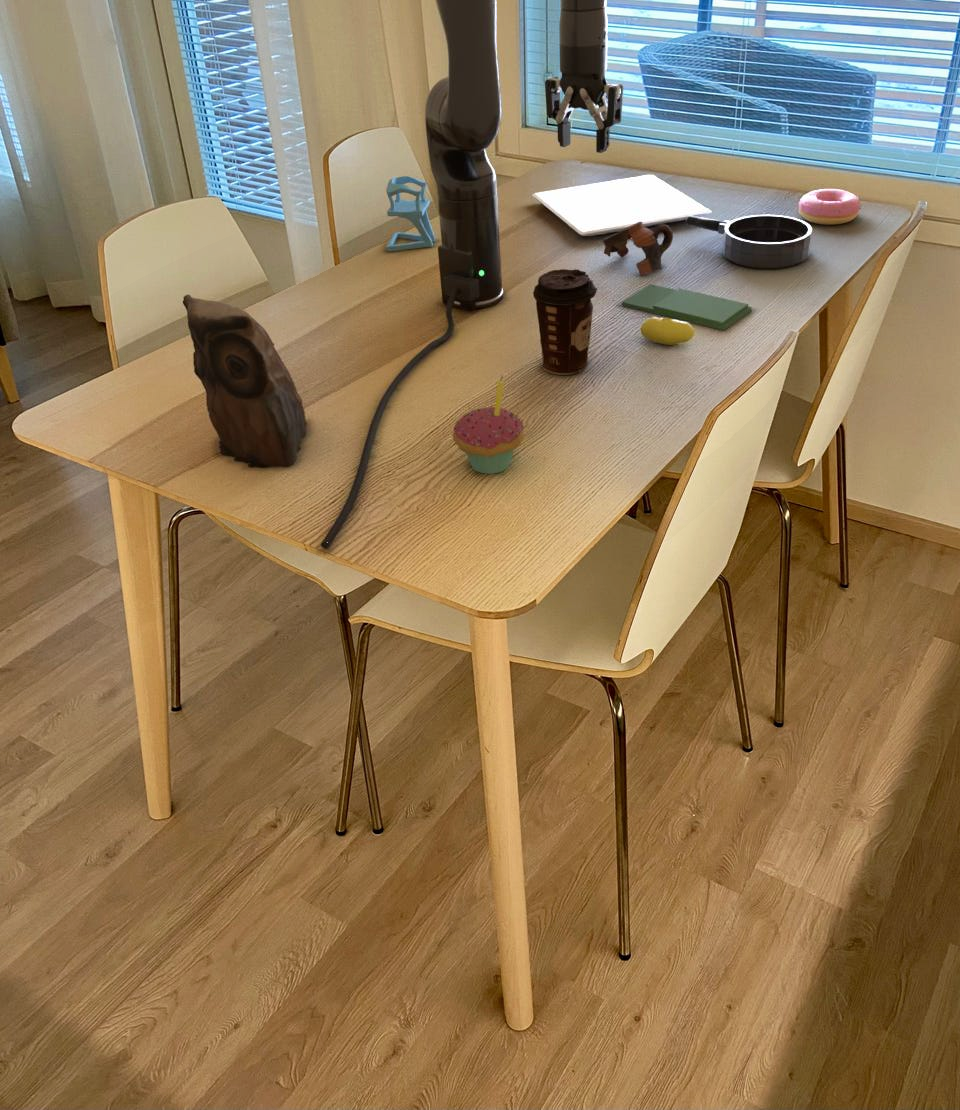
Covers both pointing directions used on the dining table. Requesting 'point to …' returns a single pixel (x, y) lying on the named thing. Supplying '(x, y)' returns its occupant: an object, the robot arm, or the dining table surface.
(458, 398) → the dining table surface
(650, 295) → the cloth
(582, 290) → the coffee cup
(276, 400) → the owl
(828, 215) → the doughnut
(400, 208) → the chair
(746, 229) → the pan
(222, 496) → the dining table surface
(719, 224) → the pan handle
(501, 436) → the cupcake
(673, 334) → the lemon
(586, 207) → the white rectangular board
